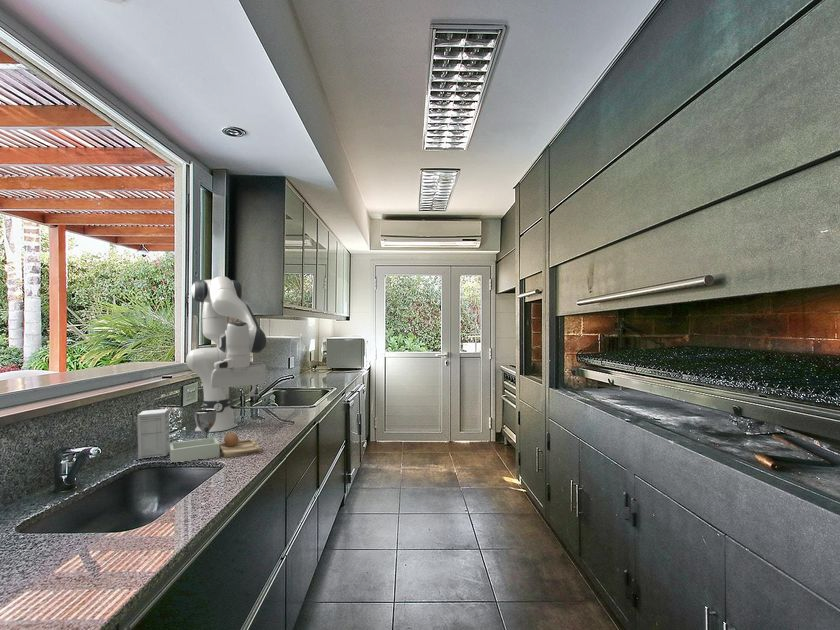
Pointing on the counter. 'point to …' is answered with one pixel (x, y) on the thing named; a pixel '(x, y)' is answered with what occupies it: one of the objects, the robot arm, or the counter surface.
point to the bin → (194, 449)
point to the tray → (240, 448)
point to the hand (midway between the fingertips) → (238, 397)
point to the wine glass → (205, 420)
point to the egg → (231, 439)
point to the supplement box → (153, 433)
